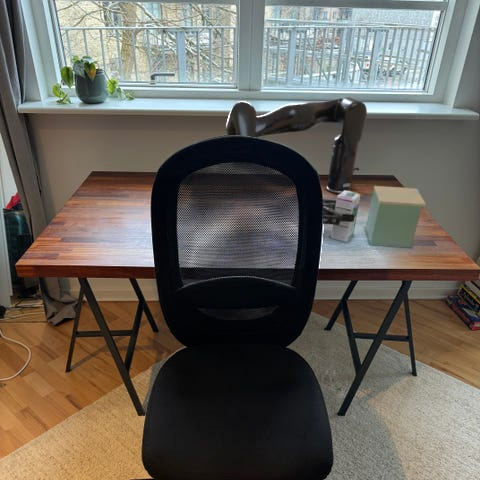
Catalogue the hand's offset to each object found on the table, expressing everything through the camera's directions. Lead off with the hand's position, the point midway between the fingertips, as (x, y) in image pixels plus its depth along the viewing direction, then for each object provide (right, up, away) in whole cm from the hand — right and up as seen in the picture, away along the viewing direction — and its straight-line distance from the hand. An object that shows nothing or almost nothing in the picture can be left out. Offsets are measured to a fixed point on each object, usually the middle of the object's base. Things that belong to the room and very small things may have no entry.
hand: (352, 213), depth 143 cm
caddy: (+13, -7, +6) cm, 16 cm away
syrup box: (-2, -7, +5) cm, 9 cm away
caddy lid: (+14, +4, -2) cm, 15 cm away
